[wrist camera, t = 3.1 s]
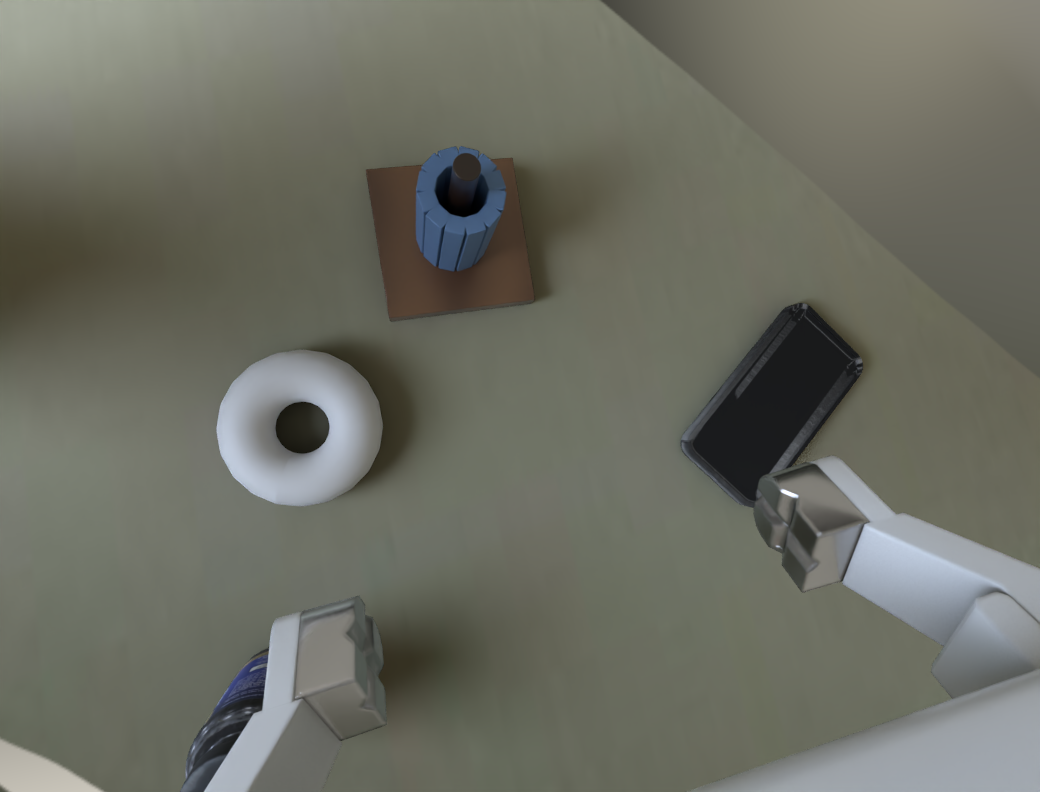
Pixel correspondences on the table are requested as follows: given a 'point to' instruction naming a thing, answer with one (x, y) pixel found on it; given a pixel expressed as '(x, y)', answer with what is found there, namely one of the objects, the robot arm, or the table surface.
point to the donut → (253, 430)
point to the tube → (450, 234)
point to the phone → (772, 403)
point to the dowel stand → (430, 288)
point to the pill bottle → (226, 723)
